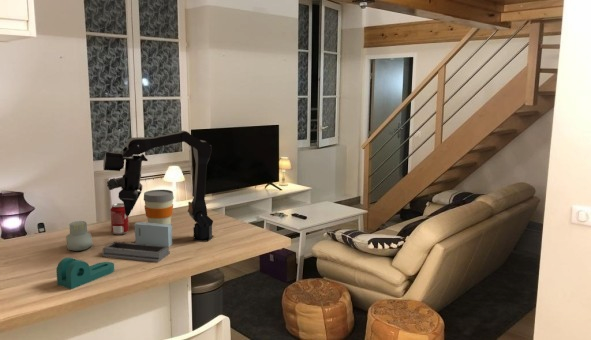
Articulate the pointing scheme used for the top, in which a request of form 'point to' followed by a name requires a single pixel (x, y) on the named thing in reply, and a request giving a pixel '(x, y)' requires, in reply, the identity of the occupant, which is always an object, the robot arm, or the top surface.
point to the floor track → (135, 251)
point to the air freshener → (78, 236)
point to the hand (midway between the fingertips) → (129, 212)
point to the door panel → (153, 234)
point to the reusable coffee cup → (159, 206)
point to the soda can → (119, 219)
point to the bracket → (80, 272)
